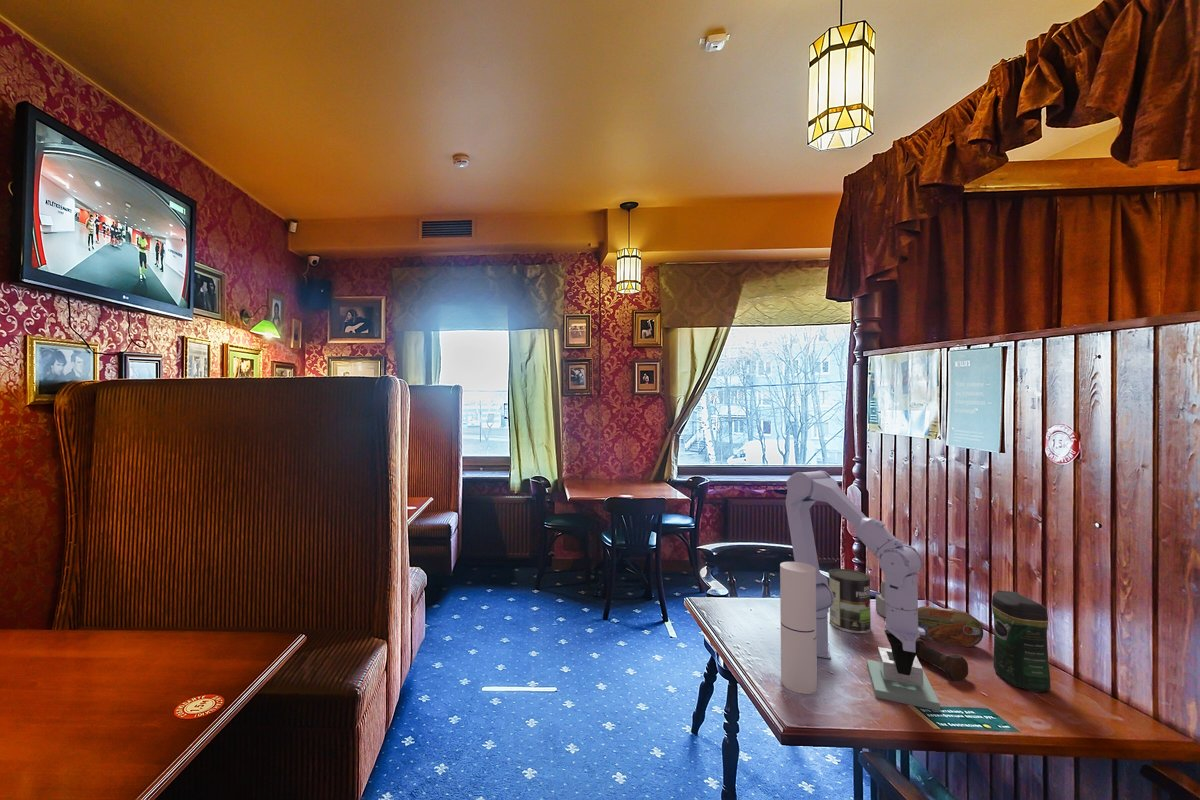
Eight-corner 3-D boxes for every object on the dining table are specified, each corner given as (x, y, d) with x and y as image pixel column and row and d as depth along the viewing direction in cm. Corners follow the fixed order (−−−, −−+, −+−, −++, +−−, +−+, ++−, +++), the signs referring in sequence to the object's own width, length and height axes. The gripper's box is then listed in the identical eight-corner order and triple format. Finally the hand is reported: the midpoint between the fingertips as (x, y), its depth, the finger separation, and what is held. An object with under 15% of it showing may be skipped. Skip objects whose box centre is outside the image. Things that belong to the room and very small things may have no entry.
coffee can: (879, 628, 125) (878, 576, 126) (857, 637, 120) (856, 583, 120) (843, 614, 134) (842, 566, 135) (821, 622, 129) (820, 571, 129)
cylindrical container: (773, 678, 100) (773, 563, 101) (797, 671, 103) (796, 560, 104) (799, 697, 94) (798, 573, 95) (824, 689, 96) (823, 569, 98)
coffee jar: (1059, 696, 95) (1056, 605, 96) (1015, 691, 96) (1012, 602, 97) (1026, 671, 104) (1023, 589, 105) (986, 667, 106) (984, 586, 107)
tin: (913, 639, 119) (912, 606, 120) (910, 633, 122) (909, 602, 123) (984, 650, 114) (983, 616, 114) (979, 644, 117) (978, 611, 117)
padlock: (873, 610, 137) (873, 577, 137) (886, 610, 137) (886, 577, 137) (889, 621, 130) (889, 585, 130) (903, 621, 130) (902, 585, 130)
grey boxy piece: (883, 679, 96) (883, 661, 96) (878, 662, 102) (877, 647, 102) (923, 686, 93) (922, 668, 93) (915, 669, 99) (914, 653, 100)
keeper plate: (875, 697, 94) (875, 677, 94) (866, 666, 106) (866, 648, 106) (940, 711, 89) (939, 690, 90) (923, 677, 101) (923, 658, 101)
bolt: (902, 655, 115) (963, 687, 100) (888, 647, 114) (947, 678, 99) (910, 633, 116) (972, 661, 101) (896, 625, 115) (956, 652, 100)
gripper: (933, 622, 88) (935, 695, 87) (916, 596, 101) (917, 658, 100) (890, 616, 90) (891, 686, 90) (879, 591, 104) (880, 652, 103)
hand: (902, 671), depth 95 cm, fingers closed on grey boxy piece
